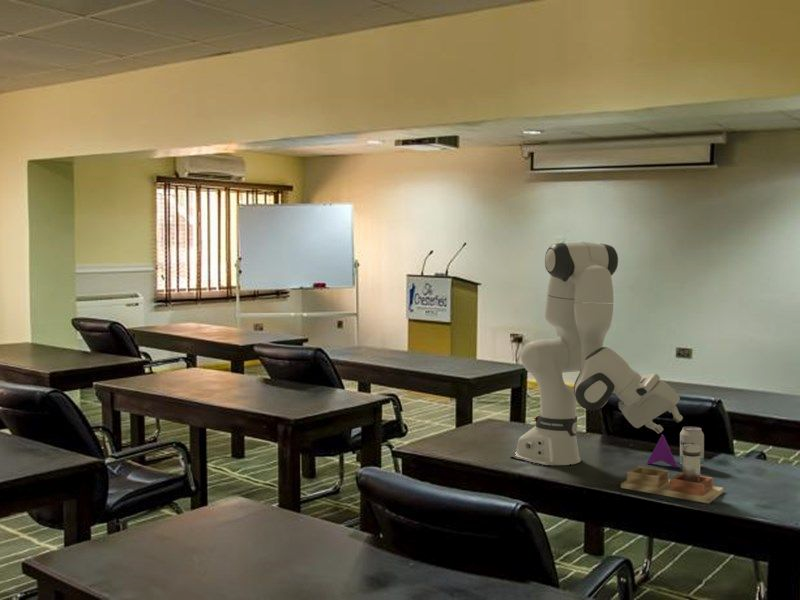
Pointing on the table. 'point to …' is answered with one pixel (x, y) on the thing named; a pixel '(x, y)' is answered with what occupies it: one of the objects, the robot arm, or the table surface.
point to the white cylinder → (691, 463)
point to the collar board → (671, 485)
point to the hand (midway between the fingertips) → (670, 426)
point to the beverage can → (692, 441)
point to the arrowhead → (662, 453)
